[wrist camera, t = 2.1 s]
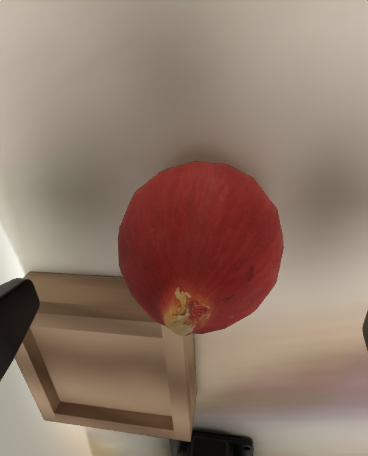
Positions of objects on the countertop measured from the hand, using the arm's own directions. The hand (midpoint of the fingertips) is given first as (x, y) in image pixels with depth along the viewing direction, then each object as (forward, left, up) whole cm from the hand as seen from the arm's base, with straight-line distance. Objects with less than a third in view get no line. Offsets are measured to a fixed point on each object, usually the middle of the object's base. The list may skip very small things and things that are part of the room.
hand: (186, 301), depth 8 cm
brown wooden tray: (-10, +6, -7) cm, 14 cm away
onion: (0, 0, -7) cm, 7 cm away
